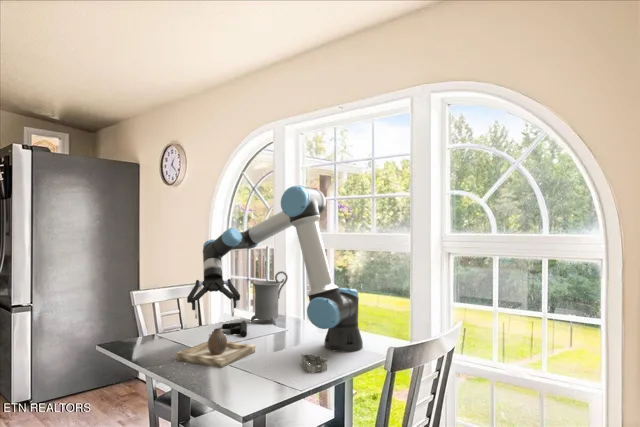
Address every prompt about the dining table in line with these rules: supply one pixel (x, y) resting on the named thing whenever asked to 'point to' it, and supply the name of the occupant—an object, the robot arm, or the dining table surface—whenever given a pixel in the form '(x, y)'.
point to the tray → (205, 357)
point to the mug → (267, 298)
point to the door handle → (235, 328)
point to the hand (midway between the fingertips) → (214, 315)
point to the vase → (217, 342)
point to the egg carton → (314, 362)
